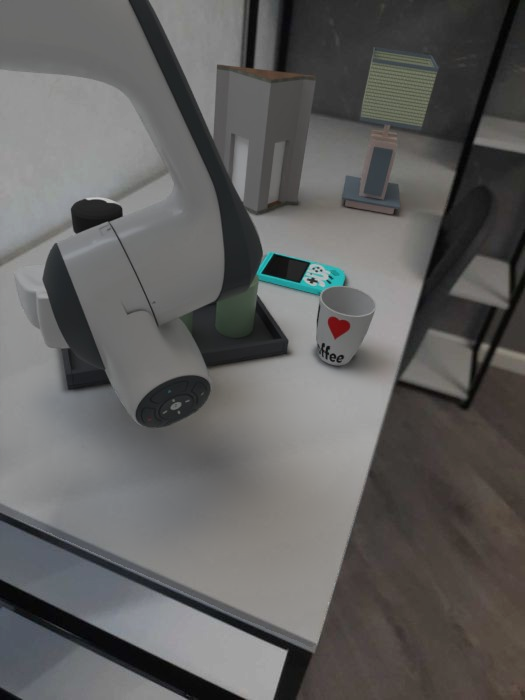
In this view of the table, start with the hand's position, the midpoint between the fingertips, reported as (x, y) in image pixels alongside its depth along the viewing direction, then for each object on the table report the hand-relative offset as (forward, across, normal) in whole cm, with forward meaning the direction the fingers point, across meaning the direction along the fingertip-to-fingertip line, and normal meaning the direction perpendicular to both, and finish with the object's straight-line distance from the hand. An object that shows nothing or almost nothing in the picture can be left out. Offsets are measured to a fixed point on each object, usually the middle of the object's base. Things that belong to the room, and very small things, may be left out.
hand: (97, 250), depth 65 cm
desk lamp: (+41, -77, +16) cm, 88 cm away
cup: (-12, -32, +16) cm, 38 cm away
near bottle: (0, -10, +16) cm, 19 cm away
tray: (0, -10, +16) cm, 19 cm away
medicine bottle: (+1, -1, +7) cm, 7 cm away
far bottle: (0, -20, +16) cm, 25 cm away
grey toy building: (+44, -45, +16) cm, 65 cm away
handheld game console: (+11, -39, +16) cm, 44 cm away
